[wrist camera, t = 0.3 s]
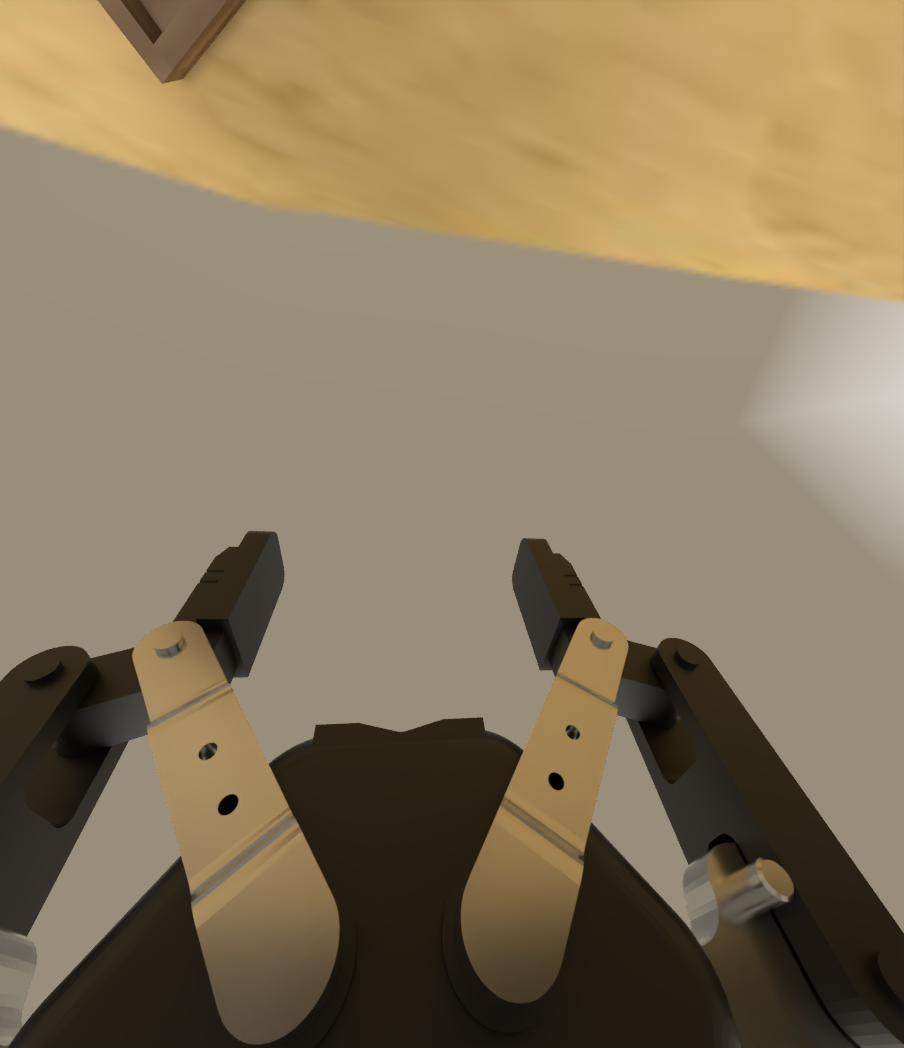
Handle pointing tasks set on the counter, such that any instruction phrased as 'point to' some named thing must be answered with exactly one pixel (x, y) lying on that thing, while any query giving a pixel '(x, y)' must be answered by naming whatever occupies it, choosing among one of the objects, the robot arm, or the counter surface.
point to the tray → (171, 30)
